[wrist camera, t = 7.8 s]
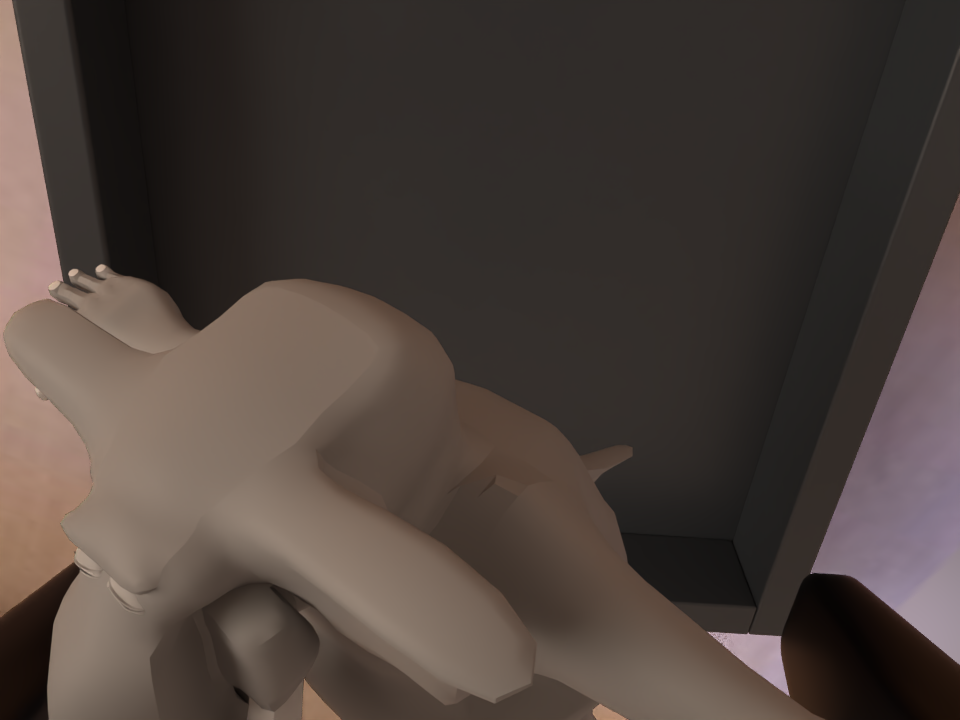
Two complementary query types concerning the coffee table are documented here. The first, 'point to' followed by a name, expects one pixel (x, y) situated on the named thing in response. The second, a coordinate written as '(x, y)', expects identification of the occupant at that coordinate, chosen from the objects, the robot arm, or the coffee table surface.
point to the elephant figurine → (338, 528)
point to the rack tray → (550, 218)
